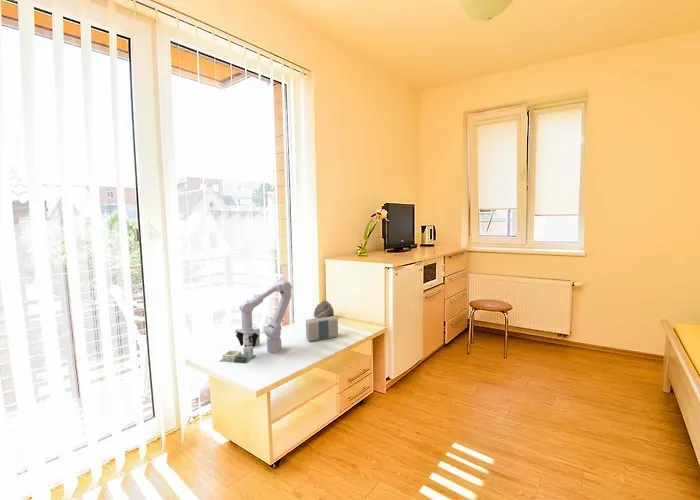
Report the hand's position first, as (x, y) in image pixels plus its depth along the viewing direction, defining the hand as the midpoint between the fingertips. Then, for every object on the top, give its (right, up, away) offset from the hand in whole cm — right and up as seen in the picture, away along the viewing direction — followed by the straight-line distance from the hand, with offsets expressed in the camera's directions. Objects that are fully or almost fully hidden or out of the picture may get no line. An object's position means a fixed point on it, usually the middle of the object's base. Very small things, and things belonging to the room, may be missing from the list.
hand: (248, 345), depth 208 cm
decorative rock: (+38, 0, +78) cm, 87 cm away
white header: (-10, -7, +2) cm, 12 cm away
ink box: (-3, -6, +20) cm, 21 cm away
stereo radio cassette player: (+40, -4, +34) cm, 53 cm away
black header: (-3, -8, -5) cm, 9 cm away
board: (-6, -8, 0) cm, 10 cm away
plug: (0, -7, +1) cm, 7 cm away
